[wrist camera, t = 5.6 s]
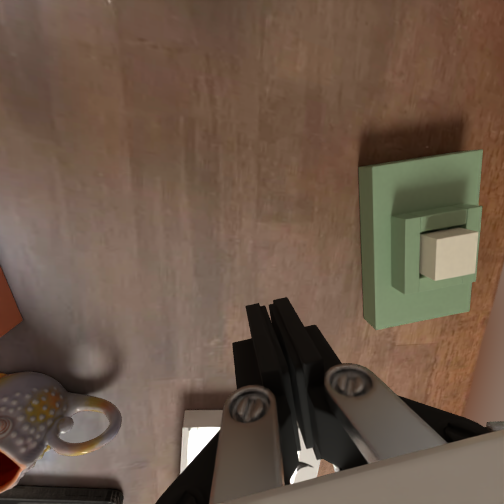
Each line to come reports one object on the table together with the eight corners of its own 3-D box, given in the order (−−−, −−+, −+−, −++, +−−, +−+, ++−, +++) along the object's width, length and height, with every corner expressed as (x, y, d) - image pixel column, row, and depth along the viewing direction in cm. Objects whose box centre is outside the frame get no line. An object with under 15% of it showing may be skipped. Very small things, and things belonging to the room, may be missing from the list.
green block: (358, 166, 23) (386, 165, 19) (459, 151, 24) (506, 147, 20) (363, 318, 27) (387, 342, 23) (450, 301, 28) (488, 321, 24)
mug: (-9, 429, 25) (-84, 514, 19) (-18, 363, 24) (-104, 432, 17) (131, 428, 27) (106, 505, 21) (132, 366, 26) (105, 430, 19)
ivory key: (419, 234, 22) (436, 239, 20) (458, 227, 22) (478, 231, 20) (418, 273, 22) (435, 281, 21) (456, 266, 23) (475, 273, 21)
